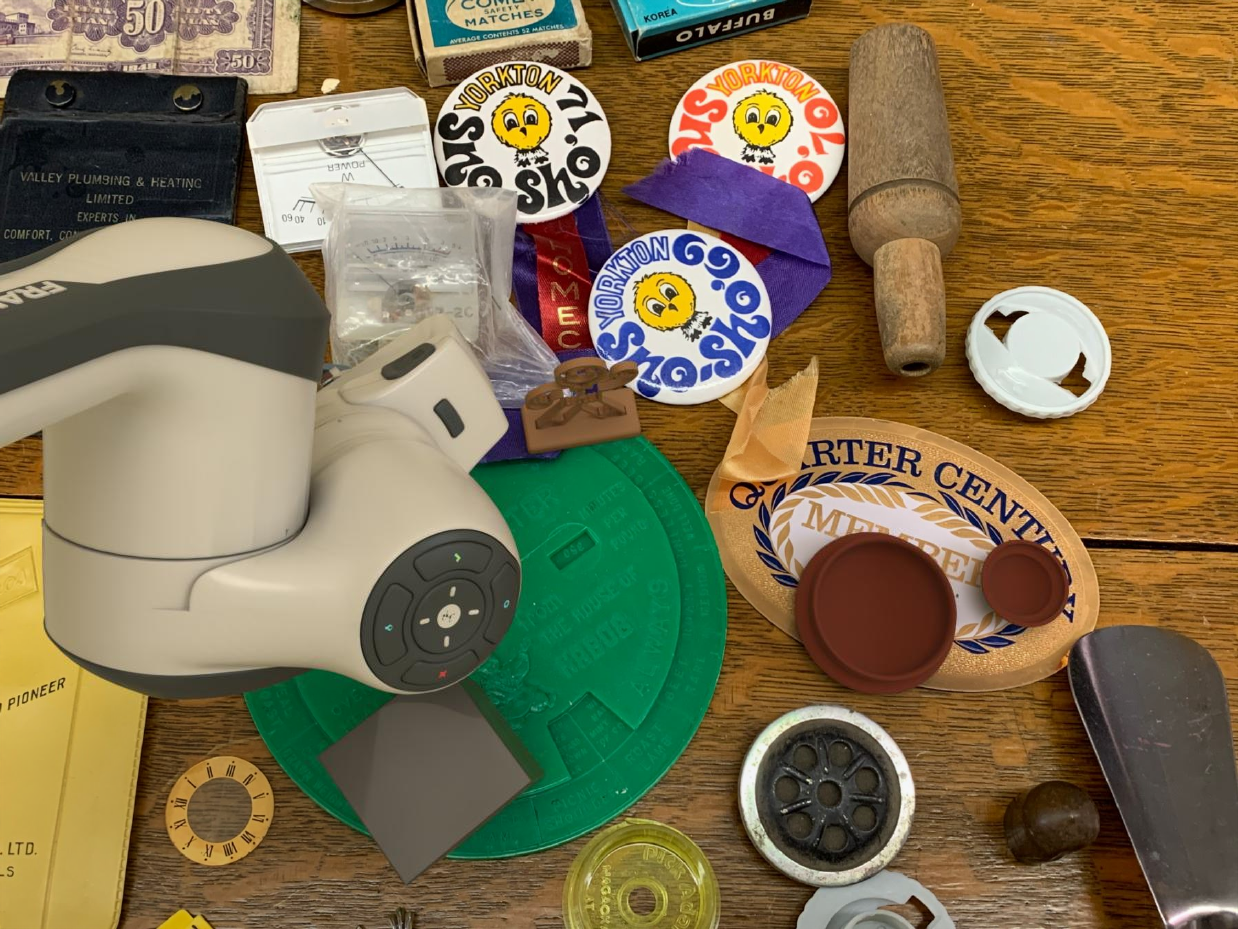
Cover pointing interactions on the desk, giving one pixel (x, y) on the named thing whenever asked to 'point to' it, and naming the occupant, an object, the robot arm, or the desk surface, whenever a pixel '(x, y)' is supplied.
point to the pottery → (909, 606)
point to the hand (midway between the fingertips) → (300, 404)
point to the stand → (430, 772)
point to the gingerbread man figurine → (581, 406)
